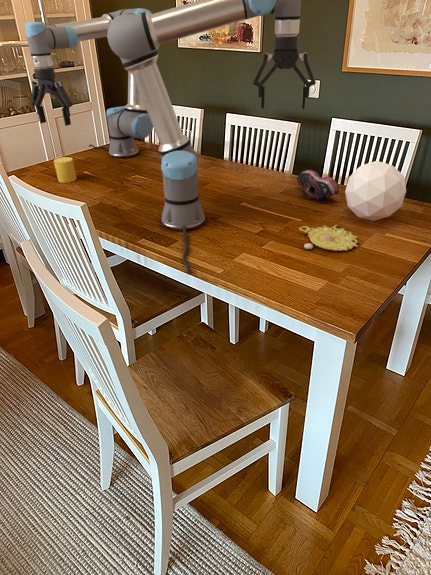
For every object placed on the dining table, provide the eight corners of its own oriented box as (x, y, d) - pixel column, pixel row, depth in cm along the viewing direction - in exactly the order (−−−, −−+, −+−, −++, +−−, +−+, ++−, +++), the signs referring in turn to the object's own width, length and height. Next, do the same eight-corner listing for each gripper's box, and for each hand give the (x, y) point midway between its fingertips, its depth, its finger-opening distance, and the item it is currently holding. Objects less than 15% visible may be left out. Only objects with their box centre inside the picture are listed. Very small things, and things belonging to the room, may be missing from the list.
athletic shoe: (306, 169, 182) (282, 176, 178) (340, 163, 162) (313, 171, 158) (311, 196, 184) (288, 204, 181) (345, 193, 165) (320, 202, 161)
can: (76, 176, 203) (72, 156, 198) (77, 181, 196) (73, 161, 191) (58, 178, 201) (53, 158, 196) (58, 183, 194) (53, 163, 189)
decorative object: (343, 255, 128) (285, 234, 139) (342, 262, 130) (284, 241, 140) (372, 230, 142) (317, 213, 152) (371, 237, 143) (316, 219, 153)
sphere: (378, 240, 155) (398, 211, 136) (328, 211, 159) (341, 179, 141) (404, 201, 160) (427, 168, 141) (355, 174, 164) (371, 139, 145)
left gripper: (13, 68, 176) (26, 123, 187) (61, 69, 166) (72, 128, 178) (27, 65, 182) (39, 119, 193) (74, 67, 172) (84, 124, 184)
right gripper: (327, 34, 139) (320, 105, 150) (248, 35, 143) (247, 105, 154) (328, 35, 133) (320, 110, 144) (245, 37, 137) (244, 109, 148)
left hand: (55, 123), depth 185 cm, fingers open, 13 cm apart
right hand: (282, 107), depth 149 cm, fingers open, 13 cm apart
